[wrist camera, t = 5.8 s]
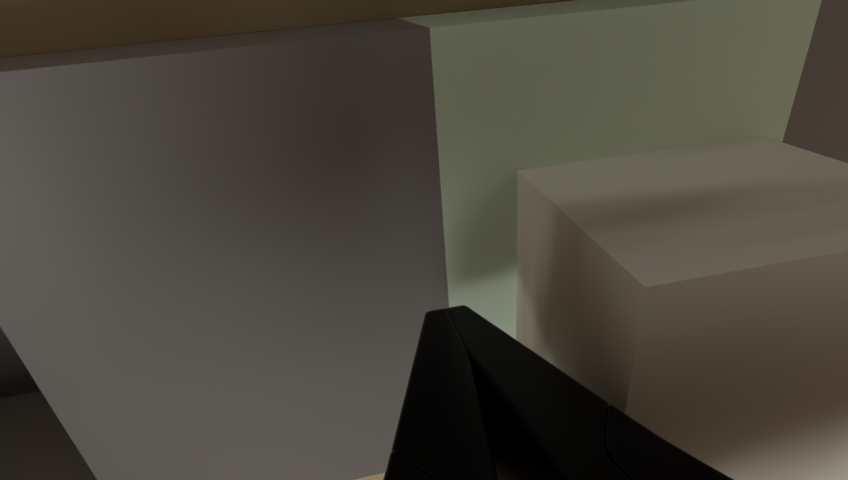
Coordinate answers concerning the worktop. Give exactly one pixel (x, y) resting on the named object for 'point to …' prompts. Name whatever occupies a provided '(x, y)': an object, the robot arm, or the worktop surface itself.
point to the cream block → (699, 297)
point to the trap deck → (328, 211)
